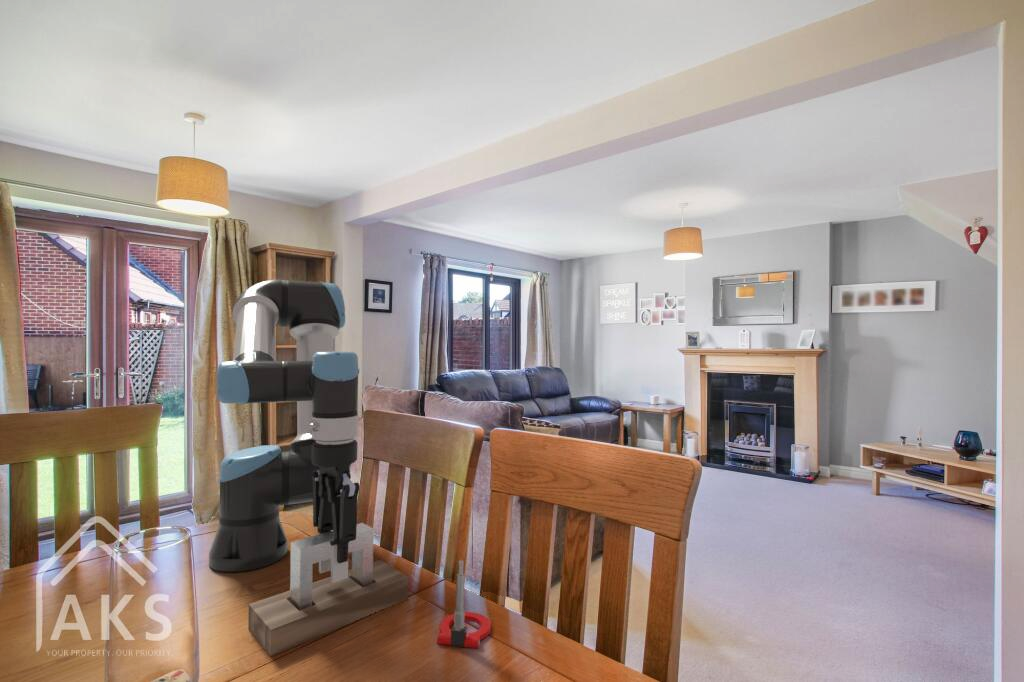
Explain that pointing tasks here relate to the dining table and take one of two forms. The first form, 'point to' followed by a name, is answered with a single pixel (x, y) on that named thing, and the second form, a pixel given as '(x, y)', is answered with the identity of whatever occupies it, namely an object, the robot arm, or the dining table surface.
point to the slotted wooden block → (324, 608)
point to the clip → (320, 550)
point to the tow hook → (462, 621)
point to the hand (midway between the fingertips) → (333, 574)
